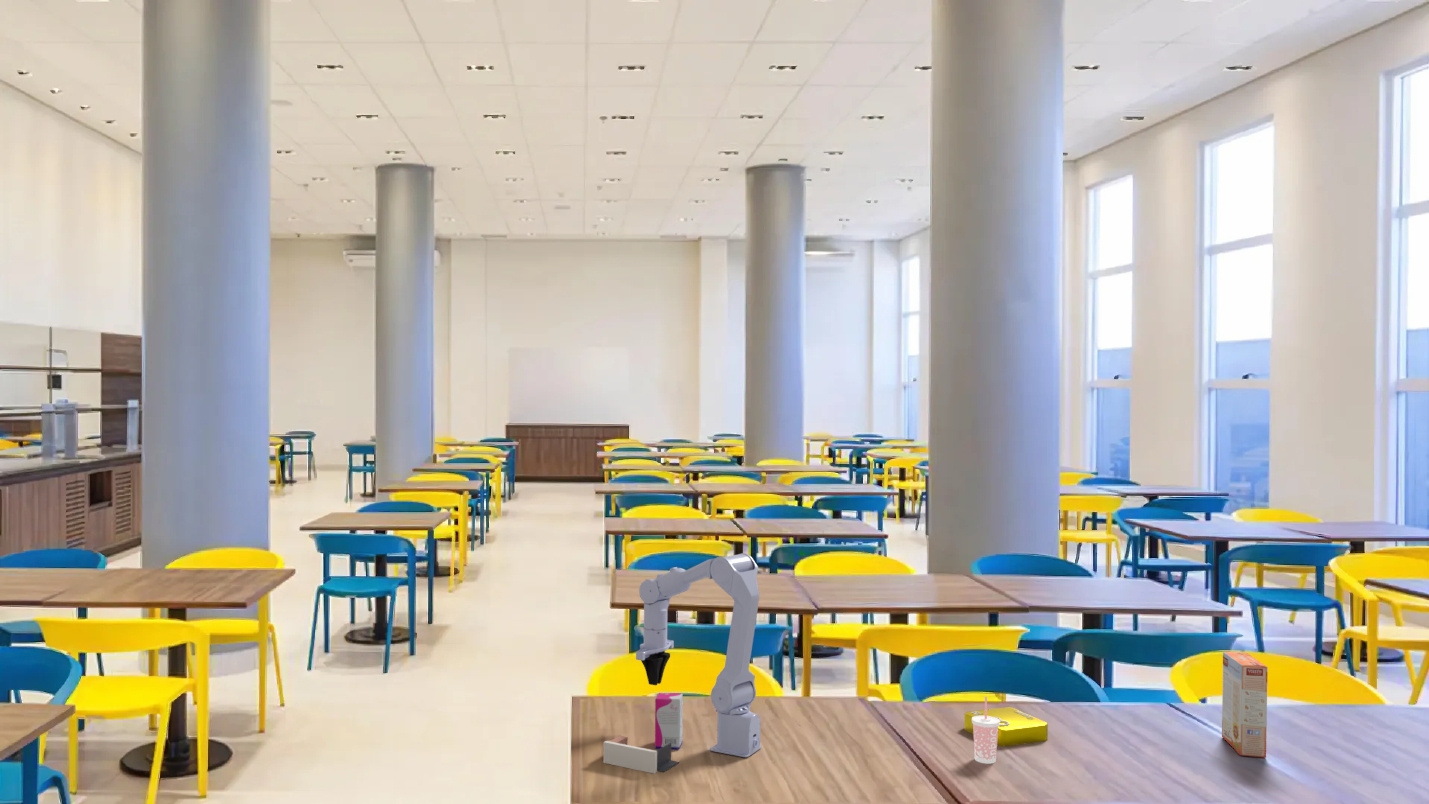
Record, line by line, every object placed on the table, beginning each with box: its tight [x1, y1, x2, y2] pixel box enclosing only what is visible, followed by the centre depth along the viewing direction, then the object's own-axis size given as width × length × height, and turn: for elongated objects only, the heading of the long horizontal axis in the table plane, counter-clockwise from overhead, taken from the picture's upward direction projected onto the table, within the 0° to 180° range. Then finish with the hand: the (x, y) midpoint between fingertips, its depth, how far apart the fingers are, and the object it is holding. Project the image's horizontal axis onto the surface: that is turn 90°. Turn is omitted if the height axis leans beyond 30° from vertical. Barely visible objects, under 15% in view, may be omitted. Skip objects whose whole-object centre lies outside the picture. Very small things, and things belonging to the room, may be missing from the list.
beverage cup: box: [972, 696, 1000, 765], centre depth 222 cm, size 6×6×14 cm
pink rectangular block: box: [609, 735, 629, 745], centre depth 221 cm, size 2×6×4 cm, turn 152°
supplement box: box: [654, 692, 684, 751], centre depth 229 cm, size 6×6×12 cm
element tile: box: [963, 706, 1049, 747], centre depth 240 cm, size 15×15×5 cm
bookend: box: [656, 743, 680, 773], centre depth 215 cm, size 2×6×4 cm, turn 152°
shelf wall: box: [603, 740, 658, 774], centre depth 214 cm, size 13×1×4 cm, turn 62°
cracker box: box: [1221, 651, 1269, 759], centre depth 232 cm, size 14×6×21 cm, turn 168°
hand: (654, 683), depth 242 cm, fingers closed
